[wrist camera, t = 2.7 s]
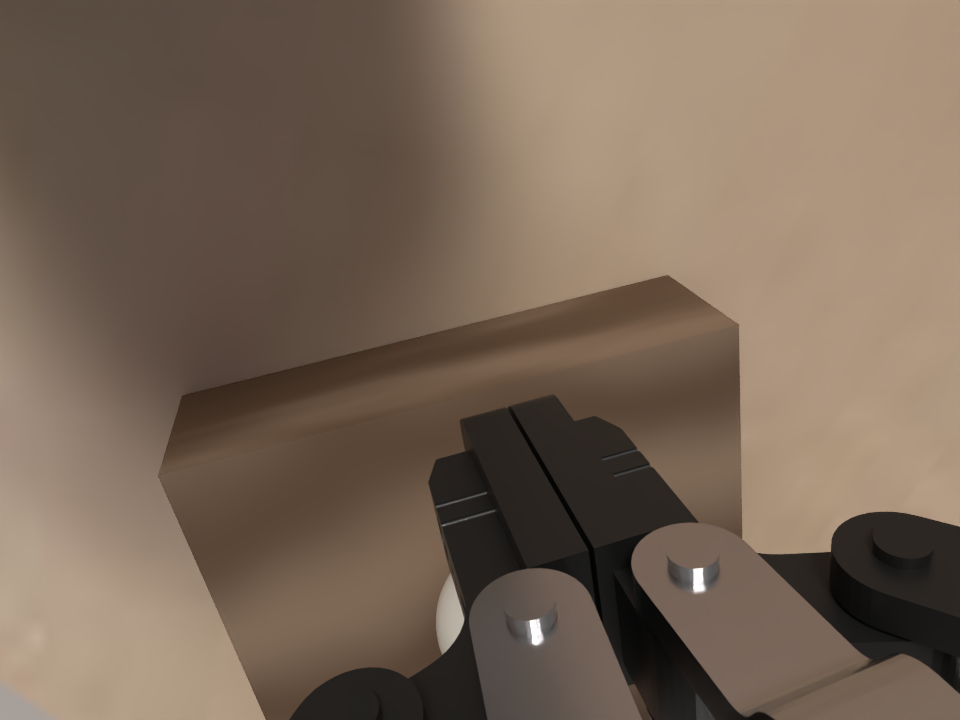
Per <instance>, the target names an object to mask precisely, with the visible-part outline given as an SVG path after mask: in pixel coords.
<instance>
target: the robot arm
mask: <svg viewBox="0 0 960 720" xmlns="http://www.w3.org/2000/svg"><path fill="white" fill-rule="evenodd" d="M460 427H461V433H462V438H463V443H464V448H465V452H461V453H458V454H454V455H450V456H447V457H443V458H439V459H436V460H435V463H434V466H433V469H432V472H431V475H430V478H429V481H428V484H429V488H430V492H431V496H432V500H433V505H434V509H435V513H436V517H437V521H438V525H439V530H440V534H441V538H442V542H443V546H444V550H445V554H446V559H447V562H448V566H449V569H450V572H451V576H452V579H453V582H454V585H455V589H456V592H457V596H458V599H459V603H460V606H461V609H462V613H463V616H464V624H463V626H462V628H461V631H460V633H459V635H458V636H457V638H456V640H455V641H454V643H453V644H452V645H451V646H450V648H449V649H448V650H447V651H446V652H445V653H444V654H443V655H442V656H441V657H439V658H438V659H437V660H436V661H434V662H433V663H431V664H430V665H429V666H427V667H426V668H424V669H422V670H421V671H419V672H418V673H416V674H415V675H413V676H411V677H410V678H406V677H405V676H403V675H402V674H400V673H398V672H395V671H393V670H390V669H385V668H379V667H367V668H359V669H355V670H351V671H347V672H344V673H342V674H340V675H337V676H335V677H333V678H331V679H330V680H328V681H326V682H324V683H323V684H322V685H320V686H319V687H317V688H316V689H315V690H314V691H313V692H312V693H310V694H309V695H308V696H307V697H306V698H305V699H304V701H303V702H302V703H301V704H300V705H299V707H298V708H297V709H296V711H295V712H294V713H293V715H292V716H291V718H290V719H289V720H642V718H641V716H640V714H639V711H638V709H637V706H636V704H635V702H634V699H633V697H632V694H631V692H630V689H629V687H628V686H629V685H633V684H635V686H636V688H637V690H638V691H639V693H640V695H641V697H642V699H643V701H644V703H645V706H646V716H647V720H960V527H958V526H955V525H951V524H947V523H943V522H939V521H935V520H931V519H927V518H923V517H919V516H915V515H911V514H906V513H898V512H873V513H867V514H862V515H858V516H856V517H853V518H851V519H849V520H847V521H845V522H844V523H842V524H841V525H840V526H839V527H838V528H837V530H836V531H835V532H834V534H833V537H832V544H831V552H823V553H802V554H761V553H756V552H755V551H754V550H753V549H752V548H751V547H750V546H749V545H748V544H747V543H746V542H745V541H744V540H742V539H741V538H740V537H739V536H737V535H735V534H734V533H732V532H730V531H728V530H725V529H723V528H720V527H717V526H713V525H709V524H703V523H699V522H698V521H697V520H696V518H695V517H694V516H693V515H692V513H691V512H690V511H689V510H688V509H687V507H686V506H685V505H684V504H683V503H682V501H681V500H680V499H679V498H678V497H677V495H676V494H675V493H674V492H673V491H672V489H671V488H670V487H669V486H668V484H667V483H666V482H665V481H664V480H663V478H662V477H661V476H660V475H659V474H658V472H657V471H656V470H655V469H654V468H653V467H651V466H650V463H649V461H648V460H647V459H646V458H645V457H644V455H643V454H642V453H641V452H640V451H638V450H637V447H636V446H635V445H634V443H633V442H632V441H631V440H630V438H629V437H628V436H627V435H626V434H625V432H624V431H623V430H622V429H621V428H619V427H617V426H615V425H613V424H611V423H609V422H607V421H605V420H603V419H601V418H599V417H597V416H592V417H588V418H585V419H581V420H577V421H574V420H573V419H572V417H571V416H570V414H569V413H568V412H567V410H566V409H565V408H564V406H563V405H562V403H561V402H560V401H559V399H558V398H557V397H556V396H555V395H554V394H552V395H548V396H544V397H541V398H537V399H533V400H529V401H526V402H522V403H518V404H514V405H511V406H508V409H507V408H506V407H504V408H500V409H496V410H493V411H489V412H485V413H481V414H478V415H474V416H470V417H467V418H463V419H460Z"/></svg>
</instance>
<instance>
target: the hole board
mask: <svg viewBox="0 0 960 720" xmlns="http://www.w3.org/2000/svg"><path fill="white" fill-rule="evenodd" d="M552 394H554V395H555V396H556V397H557V398H558V399H559V401H560V402H561V403H562V405H563V406H564V408H565V409H566V410H567V412H568V413H569V414H570V416H571V417H572V419H573V420H574V421H577V420H581V419H585V418H588V417H592V416H597V417H599V418H601V419H603V420H605V421H607V422H609V423H611V424H613V425H615V426H617V427H619V428H621V429H622V430H623V431H624V432H625V434H626V435H627V436H628V437H629V438H630V440H631V441H632V442H633V443H634V445H635V446H636V447H637V450H638V451H640V452H641V453H642V454H643V455H644V457H645V458H646V459H647V460H648V461H649V463H650V466H651V467H653V468H654V469H655V470H656V471H657V472H658V474H659V475H660V476H661V477H662V478H663V480H664V481H665V482H666V483H667V484H668V486H669V487H670V488H671V489H672V491H673V492H674V493H675V494H676V495H677V497H678V498H679V499H680V500H681V501H682V503H683V504H684V505H685V506H686V507H687V509H688V510H689V511H690V512H691V513H692V515H693V516H694V517H695V518H696V520H697V521H698V522H699V523H703V524H709V525H713V526H717V527H720V528H723V529H725V530H728V531H730V532H732V533H734V534H735V535H737V536H739V537H740V538H741V539H742V498H741V435H740V372H739V324H737V323H736V322H734V321H733V320H732V319H730V318H729V317H727V316H726V315H724V314H723V313H721V312H720V311H719V310H717V309H716V308H714V307H713V306H711V305H710V304H709V303H707V302H706V301H704V300H703V299H701V298H700V297H698V296H697V295H696V294H694V293H693V292H691V291H690V290H688V289H687V288H686V287H684V286H683V285H681V284H680V283H678V282H677V281H676V280H674V279H673V278H671V277H670V276H668V275H667V276H663V277H659V278H655V279H651V280H647V281H643V282H639V283H635V284H631V285H627V286H623V287H619V288H615V289H611V290H607V291H602V292H598V293H594V294H590V295H586V296H582V297H578V298H574V299H570V300H566V301H562V302H558V303H554V304H550V305H546V306H542V307H538V308H534V309H530V310H526V311H522V312H518V313H514V314H510V315H506V316H502V317H498V318H494V319H490V320H486V321H482V322H478V323H474V324H470V325H466V326H462V327H458V328H454V329H450V330H446V331H442V332H438V333H434V334H430V335H426V336H422V337H418V338H414V339H410V340H406V341H402V342H397V343H393V344H389V345H385V346H381V347H377V348H373V349H369V350H365V351H361V352H357V353H353V354H349V355H345V356H341V357H337V358H333V359H329V360H325V361H321V362H317V363H313V364H309V365H305V366H301V367H297V368H293V369H289V370H285V371H281V372H277V373H273V374H269V375H265V376H261V377H257V378H253V379H249V380H245V381H241V382H237V383H233V384H229V385H225V386H221V387H217V388H213V389H209V390H205V391H201V392H197V393H193V394H188V395H184V396H182V398H181V402H180V405H179V408H178V412H177V415H176V418H175V422H174V425H173V428H172V432H171V435H170V438H169V442H168V445H167V448H166V451H165V455H164V458H163V461H162V465H161V468H160V471H159V475H158V477H159V479H160V481H161V484H162V486H163V488H164V490H165V493H166V495H167V497H168V499H169V502H170V504H171V506H172V508H173V511H174V513H175V515H176V517H177V520H178V522H179V524H180V527H181V529H182V531H183V533H184V536H185V538H186V540H187V542H188V545H189V547H190V549H191V551H192V554H193V556H194V558H195V560H196V563H197V565H198V567H199V569H200V572H201V574H202V576H203V578H204V581H205V583H206V585H207V588H208V590H209V592H210V594H211V597H212V599H213V601H214V603H215V606H216V608H217V610H218V612H219V615H220V617H221V619H222V621H223V624H224V626H225V628H226V630H227V633H228V635H229V637H230V640H231V642H232V644H233V646H234V649H235V651H236V653H237V655H238V658H239V660H240V662H241V664H242V667H243V669H244V671H245V673H246V676H247V678H248V680H249V682H250V685H251V687H252V689H253V691H254V694H255V696H256V698H257V701H258V703H259V705H260V707H261V710H262V712H263V714H264V716H265V719H266V720H289V719H290V718H291V716H292V715H293V713H294V712H295V711H296V709H297V708H298V707H299V705H300V704H301V703H302V702H303V701H304V699H305V698H306V697H307V696H308V695H309V694H310V693H312V692H313V691H314V690H315V689H316V688H317V687H319V686H320V685H322V684H323V683H324V682H326V681H328V680H330V679H331V678H333V677H335V676H337V675H340V674H342V673H344V672H347V671H351V670H355V669H359V668H367V667H379V668H385V669H390V670H393V671H395V672H398V673H400V674H402V675H403V676H405V677H406V678H410V677H411V676H413V675H415V674H416V673H418V672H419V671H421V670H422V669H424V668H426V667H427V666H429V665H430V664H431V663H433V662H434V661H436V660H437V659H438V658H439V657H441V656H442V653H441V650H440V647H439V644H438V639H437V632H436V611H437V605H438V600H439V596H440V593H441V590H442V588H443V586H444V584H445V582H446V580H447V578H448V576H449V574H450V573H451V572H450V569H449V566H448V562H447V559H446V554H445V550H444V546H443V542H442V538H441V534H440V530H439V525H438V521H437V517H436V513H435V509H434V505H433V500H432V496H431V492H430V488H429V484H428V481H429V478H430V475H431V472H432V469H433V466H434V463H435V460H436V459H439V458H443V457H447V456H450V455H454V454H458V453H461V452H465V448H464V443H463V438H462V433H461V427H460V419H463V418H467V417H470V416H474V415H478V414H481V413H485V412H489V411H493V410H496V409H500V408H504V407H506V408H507V409H508V406H511V405H514V404H518V403H522V402H526V401H529V400H533V399H537V398H541V397H544V396H548V395H552ZM628 687H629V689H630V692H631V694H632V697H633V699H634V702H635V704H636V706H637V709H638V711H639V714H640V716H641V718H642V720H647V716H646V706H645V703H644V701H643V699H642V697H641V695H640V693H639V691H638V690H637V688H636V686H635V684H633V685H629V686H628Z"/></svg>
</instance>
